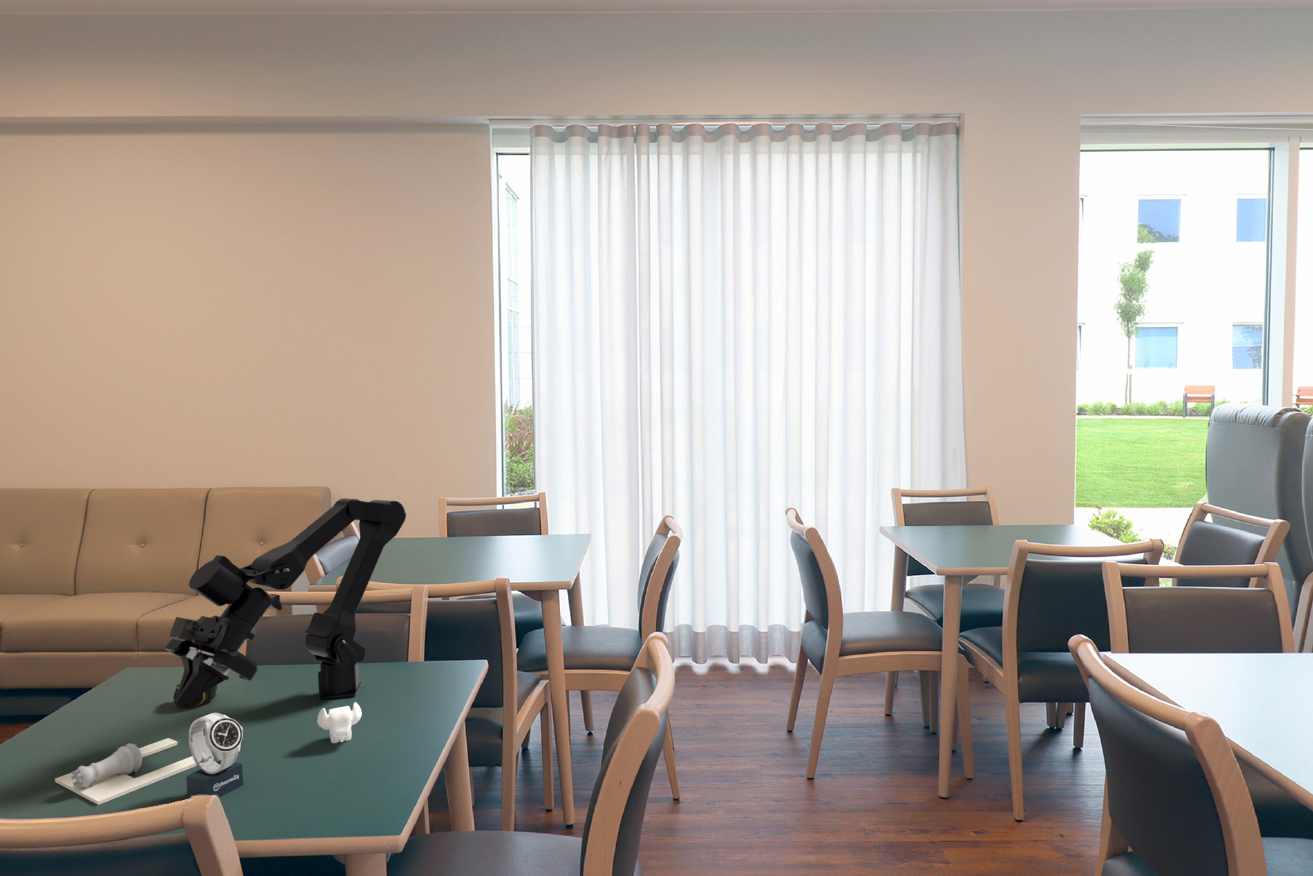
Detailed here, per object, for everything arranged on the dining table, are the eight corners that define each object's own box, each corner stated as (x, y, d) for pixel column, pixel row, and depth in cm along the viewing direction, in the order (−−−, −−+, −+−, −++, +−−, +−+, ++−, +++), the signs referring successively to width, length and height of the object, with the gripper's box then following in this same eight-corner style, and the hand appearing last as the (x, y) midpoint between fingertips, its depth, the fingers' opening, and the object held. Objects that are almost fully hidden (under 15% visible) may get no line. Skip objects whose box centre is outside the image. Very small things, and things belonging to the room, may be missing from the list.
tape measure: (218, 694, 152) (217, 675, 152) (214, 706, 146) (212, 686, 146) (177, 701, 149) (176, 681, 149) (171, 713, 143) (170, 693, 143)
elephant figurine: (319, 754, 123) (317, 717, 123) (317, 735, 131) (315, 700, 130) (365, 745, 126) (363, 709, 126) (360, 727, 134) (359, 693, 133)
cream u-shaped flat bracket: (168, 741, 130) (168, 738, 130) (213, 759, 123) (213, 755, 123) (55, 782, 117) (54, 778, 117) (98, 805, 109) (98, 801, 109)
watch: (217, 805, 108) (212, 727, 108) (179, 795, 111) (174, 719, 111) (253, 787, 113) (248, 712, 113) (215, 777, 117) (211, 705, 116)
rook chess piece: (124, 748, 121) (64, 771, 114) (135, 737, 119) (75, 759, 112) (134, 775, 120) (75, 799, 113) (146, 764, 118) (86, 788, 111)
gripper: (172, 590, 133) (105, 674, 125) (233, 601, 123) (165, 694, 115) (222, 622, 140) (162, 704, 132) (283, 636, 130) (222, 726, 122)
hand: (176, 706), depth 125 cm, fingers closed
